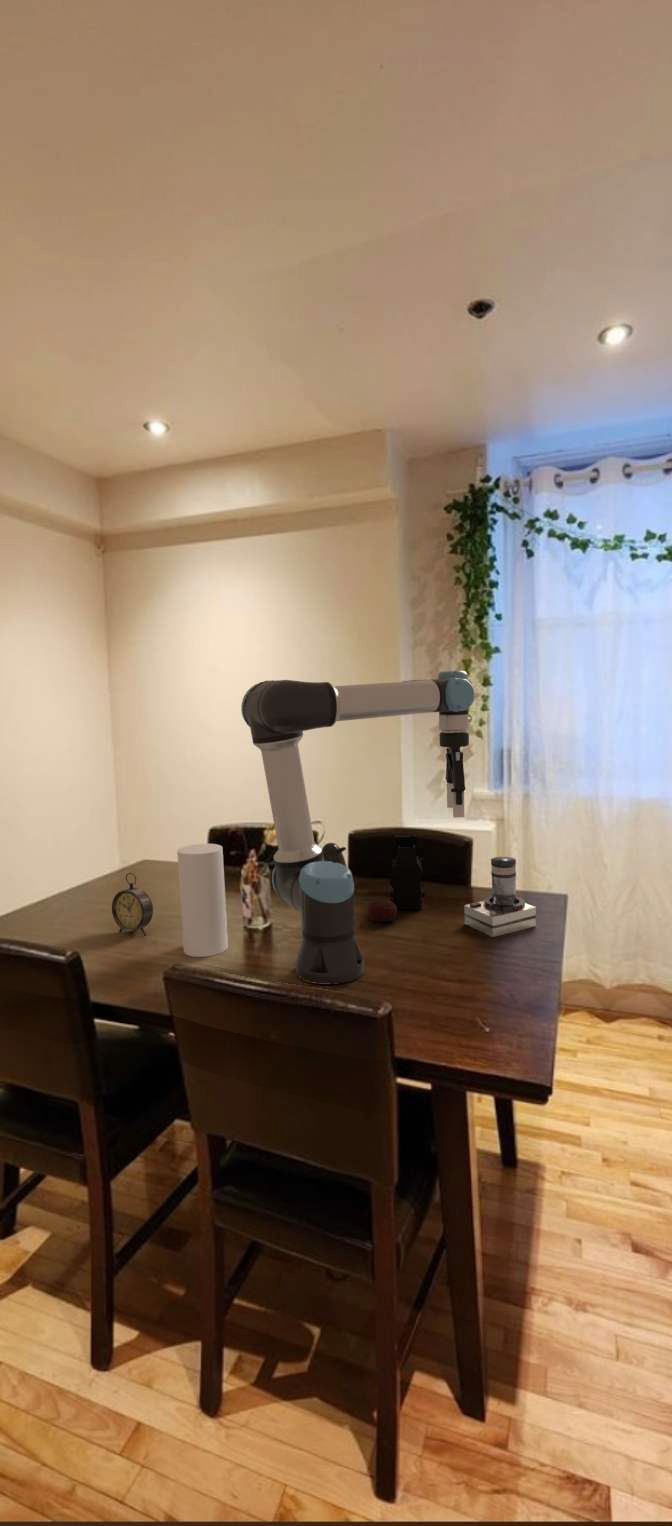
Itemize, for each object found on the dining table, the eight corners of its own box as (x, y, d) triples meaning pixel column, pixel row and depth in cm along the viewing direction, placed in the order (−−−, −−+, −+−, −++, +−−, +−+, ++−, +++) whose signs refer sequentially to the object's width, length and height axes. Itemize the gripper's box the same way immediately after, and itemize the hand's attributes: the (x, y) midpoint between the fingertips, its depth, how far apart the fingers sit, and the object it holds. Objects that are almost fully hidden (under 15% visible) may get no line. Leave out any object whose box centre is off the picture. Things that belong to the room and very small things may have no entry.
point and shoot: (492, 937, 166) (492, 912, 165) (464, 923, 175) (464, 900, 175) (535, 926, 172) (535, 902, 171) (506, 913, 182) (506, 891, 181)
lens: (519, 908, 170) (518, 862, 169) (494, 909, 171) (493, 862, 169) (513, 900, 177) (512, 855, 175) (489, 901, 177) (488, 856, 176)
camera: (424, 895, 200) (422, 829, 198) (425, 910, 187) (424, 839, 184) (390, 895, 201) (388, 829, 199) (389, 910, 188) (387, 840, 186)
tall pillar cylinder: (180, 945, 168) (173, 846, 165) (222, 937, 172) (216, 841, 169) (188, 960, 158) (181, 856, 155) (232, 951, 162) (227, 850, 160)
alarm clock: (112, 933, 178) (107, 873, 176) (126, 926, 183) (122, 868, 181) (144, 938, 173) (139, 877, 171) (158, 931, 178) (154, 871, 176)
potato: (376, 928, 174) (376, 906, 174) (362, 919, 182) (361, 897, 181) (401, 923, 177) (401, 901, 177) (386, 914, 185) (386, 893, 184)
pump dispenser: (337, 898, 201) (336, 848, 199) (309, 893, 206) (307, 844, 204) (355, 889, 209) (354, 840, 207) (327, 884, 215) (326, 837, 213)
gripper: (476, 734, 162) (477, 821, 164) (462, 727, 186) (463, 803, 189) (444, 735, 162) (446, 822, 164) (434, 728, 187) (436, 804, 189)
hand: (455, 812), depth 177 cm, fingers open, 13 cm apart
